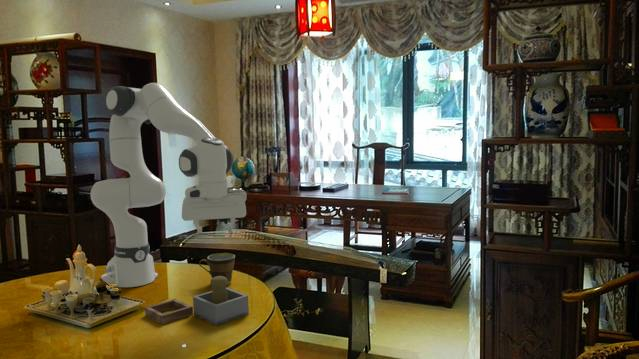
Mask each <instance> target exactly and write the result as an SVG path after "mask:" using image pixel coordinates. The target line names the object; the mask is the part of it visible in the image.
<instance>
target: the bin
mask: <svg viewBox="0 0 639 359" xmlns="http://www.w3.org/2000/svg"><path fill="white" fill-rule="evenodd" d="M226 290H227V295H228V301H226V302H223V303H219V304H214V303H212V302H211V301H212V290H211V291H208V292H203V293H201V294H197V295H193V297H192V303H193V306H192V307H193V316H195V317H197V318H199V319H201V320H203V321H205V322H208V323H209V322H210V323H209V324H212V325H213V324H214V326H215V327H217V326H220V325H223V324H226V323H229V322H231V321H234V320H237V319H240V318H242V317H245V316H248V315H250V314H249V311H250V310H249V308H250V307H249V295H248V294H245V293H242V292H240V291H237V290H234V289H232V288H230V287H228V286H226ZM228 321H229V322H228ZM225 322H226V323H225Z"/></svg>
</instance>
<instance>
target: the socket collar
mask: <svg viewBox="0 0 639 359" xmlns="http://www.w3.org/2000/svg"><path fill="white" fill-rule="evenodd" d="M144 309H145V310H144V311H145V312H144V314H145V316H146V317H148V318H149V319H151V320H153V321H155V322H157V323H159V324H161V325H164V324H169V323H171V322H174V321H177V320H180V318H181V319H183V318H186V316H187V317H189V316H192V315H193V316H194V308H193V306H192V305H190V304H188V303H185V302H183V301H181V300H178V299H177V298H173V299H169V300H166V301H163V302H160V303H156V304H153V305H148V306H145V308H144ZM172 309H175V310H172ZM170 310H172V311H170ZM165 311H169V312H167V313H163V312H165Z"/></svg>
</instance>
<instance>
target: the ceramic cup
mask: <svg viewBox="0 0 639 359" xmlns="http://www.w3.org/2000/svg"><path fill="white" fill-rule="evenodd" d="M235 258H236V255H235V254H233V253H228V252H221V253H213V254H210V255H208V256H207V259H206V258H205V259H204V258H203V259H201V260H199V262H198V264H199V267H201V268H202V269H203V270H205V271H206V272H207V273H208V274H209V275H210V277H211V279H212V278H213V277H216V276H224V277H226V278H227V281H228V284H227V286H228V285H230V284H232V279H233V278H232V277H233V270H234V265H235V260H236V259H235ZM202 262H204V263H205V262H206V264H207V265H208V267H209V270H208V268H206V267H204V266H202V265H201V263H202Z"/></svg>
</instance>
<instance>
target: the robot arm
mask: <svg viewBox="0 0 639 359" xmlns="http://www.w3.org/2000/svg"><path fill="white" fill-rule="evenodd" d="M104 104H105V106H106V109H107V111H108V112H109V113H111V114H112V115H111V118H110V121H109V131H108V132H109V133H108V134H109V135H108V136H109V137H108V138H109V139H108V140H109V155H110V156H109V157H110V162H111V163H112V164H113V166H115V167H116V168H118V169H119V170H124V171H125V172H128V174H129V176H130V177H127V178H126V177H125V178H109V179H105V180H100V181H96V182H95V183H94V184H93V186H92V187H91V190H90V193H89V194H90V199H91V202H92V205H94V206H95V207H96V209H97V208H98V209H99V210H100V211H102V212H103V213H105V215H106V216H107V217H108V218H109V219H110V221H111V222H112V225H113V230H114V235H115V245H113V247H114V250H113V252H114V255H113V257H111V259H110V260H109V261H108V262H107V265H106V266H105V268H104V269H105V273H104V274H102V275H101V276H100V278H101V280H102V281H103V282H104V281H105V282H107V283H109V284H117V286H118V287H117V288H134V287H136V288H137V287H141V286H145V285H148V284H151V283H152V282H154V281H155V279H156V278H158V277H159V273H158V272H156V270H155V265H154V257H153V255H152V254H150V251H151V250H150V243H149V241H148V240H149V239H148V225H147V223H146V221H145V220H144V219H142V218H140V217H138V216H135V215H133V214H130V212H129V211H128V210H129V209H133V208H145V207H146V208H148V207H151V206H156V205H159V204H161V203H162V202H164V199H165V198H166V194H167V189H166V186H165V182H163V181H162V180H161V179H160V178H159V177H157V176H156V175H154V174H153V173H152V172H151V170H149V168H148V167H147V165H146V162H145V159H144V154H143V146H142V145H143V144H142V136H141V127H142V125H143V123H145V124H146V125H150V124H152V125H153V126H154V127H155V128H156V129H157V130H159V131H160V132H162V133H166V134H171V135H178V136H183V137H188V138H190V139H192V140H193V141H194V142H195V143H196V144H194V146H191V147H188V148H185V149H183V150H182V151H181V153H180V155H179V156H178V166H179V170H180V172H181V173H182V174H183V175H184V176H186V177H188V178H198V184H196V185H193V186H189V187H187V188H186V189H185V190H184V195H185V196H184V198H183V200H182V203H181V204H182V206H181V219H182V220H183V221H185V222H186V221H188V222H189V221H190V222H191V221H193V225H194V226H195V227H196V230H197V231H196V233H197V235H198V234H203V227H202V226H199V221H204V220H206V221H207V220H219V219H220V220H222V219H230V224H229V225H226V228H227V229H226V231H227V233H228V232H229V233H230V232H233V227H234V225H235V222H236V219H238V218H240V219H241V218H245V217H246V215H247V207H246V201H247V196H248V195H247V192H246V191H245V190H244V189H242V188H229V187H228V176H227V174H228V173H229V172H230V170H232V167H233V165H234V155H233V153H232V151H231V149H230V148H229V147H228V146H227V145H225V143H224V141H223V140H221V139H219V138H217V137H215V135H214V134H213V133H212V132H211V131H210V130H209V129H208V128H207V127H206V125H204V124H203V123H202V122H201V120H200V119H198V118H197V117H195V116H194V115H192V114H190V113H189V112H188V111H187V110H185V109H184V108H183V107H182V106H181V105H180V104H179V103H178V102H177V100H176V99H175V98H174V96H173V95H172V94H171V92H169V90H167V88H165V87H164V86H163V85H162V84H160V83H157V82H149V83H147V84H145V85H143V86H142V88H140V87H139V88H138V87H137V88H136V87H130V86H129V87H127V86H124V85H119V86H116V85H115V86H113V87H111V88H110V89H109V90H108V91H107V93H106V95H105V103H104ZM105 282H104V283H105Z"/></svg>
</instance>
